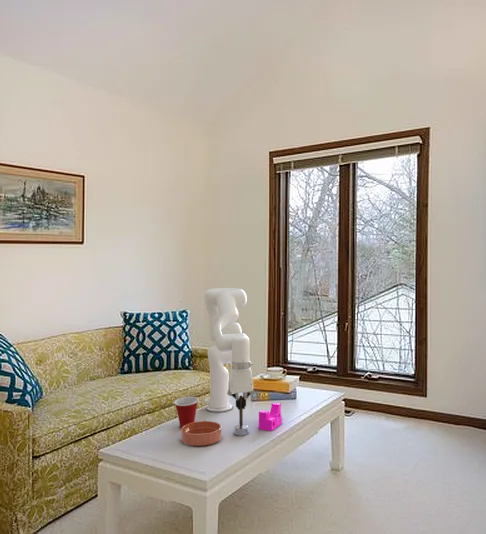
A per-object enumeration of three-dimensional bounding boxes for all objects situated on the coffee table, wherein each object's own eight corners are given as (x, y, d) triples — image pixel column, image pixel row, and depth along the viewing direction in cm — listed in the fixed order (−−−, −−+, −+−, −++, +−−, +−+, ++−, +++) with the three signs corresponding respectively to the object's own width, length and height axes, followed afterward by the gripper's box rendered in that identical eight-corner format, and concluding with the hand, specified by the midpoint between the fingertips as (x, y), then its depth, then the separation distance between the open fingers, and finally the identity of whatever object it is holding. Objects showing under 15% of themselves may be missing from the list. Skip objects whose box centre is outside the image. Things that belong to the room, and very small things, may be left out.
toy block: (271, 430, 212) (271, 413, 211) (258, 428, 214) (258, 411, 214) (285, 420, 225) (285, 404, 225) (273, 418, 228) (273, 402, 228)
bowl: (173, 442, 198) (172, 430, 198) (199, 430, 212) (198, 418, 212) (204, 449, 190) (204, 437, 190) (229, 436, 204) (229, 424, 204)
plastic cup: (169, 427, 217) (168, 400, 217) (189, 421, 225) (189, 395, 225) (183, 432, 210) (183, 404, 209) (203, 426, 217) (203, 399, 217)
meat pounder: (231, 434, 208) (231, 396, 207) (239, 430, 212) (239, 393, 212) (242, 436, 205) (242, 397, 205) (250, 432, 210) (250, 394, 210)
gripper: (256, 362, 214) (257, 404, 214) (221, 364, 210) (221, 407, 210) (260, 366, 207) (260, 409, 207) (223, 368, 203) (223, 412, 203)
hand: (240, 408), depth 209 cm, fingers closed on meat pounder, 1 cm apart
